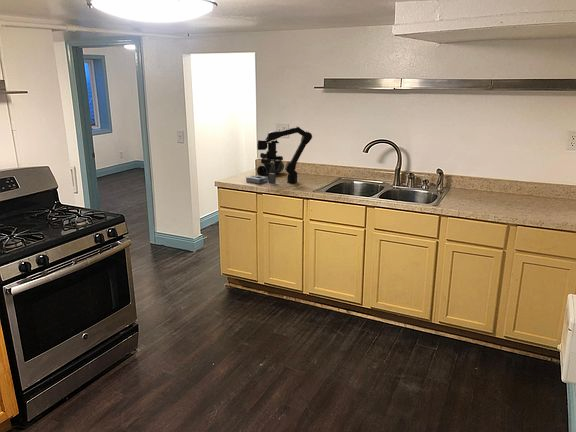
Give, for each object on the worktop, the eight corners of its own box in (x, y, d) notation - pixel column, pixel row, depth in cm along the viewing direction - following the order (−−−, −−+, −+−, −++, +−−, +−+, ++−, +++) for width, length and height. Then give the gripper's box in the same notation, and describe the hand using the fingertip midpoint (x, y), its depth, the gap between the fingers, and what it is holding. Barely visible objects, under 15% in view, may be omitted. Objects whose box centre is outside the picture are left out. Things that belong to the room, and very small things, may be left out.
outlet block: (267, 182, 345) (267, 177, 344) (259, 184, 337) (259, 179, 336) (255, 180, 352) (254, 175, 351) (246, 182, 344) (246, 177, 343)
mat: (280, 183, 341) (280, 182, 341) (273, 185, 334) (273, 185, 334) (270, 182, 346) (270, 181, 346) (263, 184, 339) (263, 183, 339)
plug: (275, 183, 340) (275, 173, 338) (273, 183, 338) (273, 174, 336) (270, 182, 342) (270, 172, 340) (268, 183, 340) (268, 173, 338)
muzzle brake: (256, 178, 361) (256, 164, 358) (275, 172, 384) (274, 159, 382) (267, 179, 356) (267, 165, 354) (285, 173, 380) (285, 160, 377)
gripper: (271, 147, 345) (271, 168, 350) (254, 150, 331) (255, 172, 335) (283, 148, 339) (283, 170, 343) (267, 151, 324) (267, 174, 329)
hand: (272, 171), depth 338 cm, fingers open, 9 cm apart
